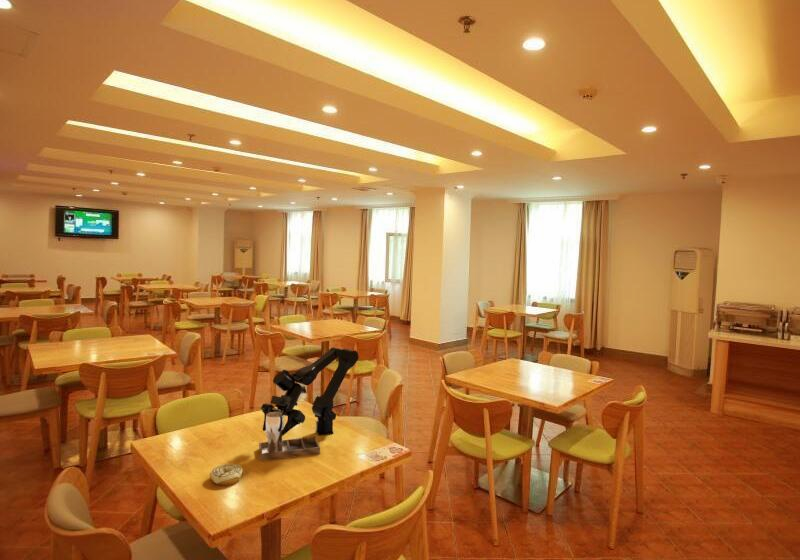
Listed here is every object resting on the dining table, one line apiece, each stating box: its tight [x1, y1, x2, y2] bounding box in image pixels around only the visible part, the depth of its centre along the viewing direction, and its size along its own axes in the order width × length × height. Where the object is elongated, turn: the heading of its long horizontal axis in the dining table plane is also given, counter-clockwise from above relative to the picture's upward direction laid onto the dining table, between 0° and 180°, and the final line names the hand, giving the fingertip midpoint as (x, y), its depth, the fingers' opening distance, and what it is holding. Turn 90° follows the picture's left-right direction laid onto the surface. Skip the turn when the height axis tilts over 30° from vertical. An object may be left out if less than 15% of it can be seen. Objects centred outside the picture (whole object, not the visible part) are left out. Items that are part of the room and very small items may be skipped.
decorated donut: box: [209, 463, 243, 486], centre depth 160 cm, size 10×11×4 cm
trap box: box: [258, 436, 321, 462], centre depth 183 cm, size 22×11×2 cm, turn 109°
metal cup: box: [265, 411, 285, 453], centre depth 181 cm, size 7×7×15 cm
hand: (272, 432), depth 179 cm, fingers open, 9 cm apart
